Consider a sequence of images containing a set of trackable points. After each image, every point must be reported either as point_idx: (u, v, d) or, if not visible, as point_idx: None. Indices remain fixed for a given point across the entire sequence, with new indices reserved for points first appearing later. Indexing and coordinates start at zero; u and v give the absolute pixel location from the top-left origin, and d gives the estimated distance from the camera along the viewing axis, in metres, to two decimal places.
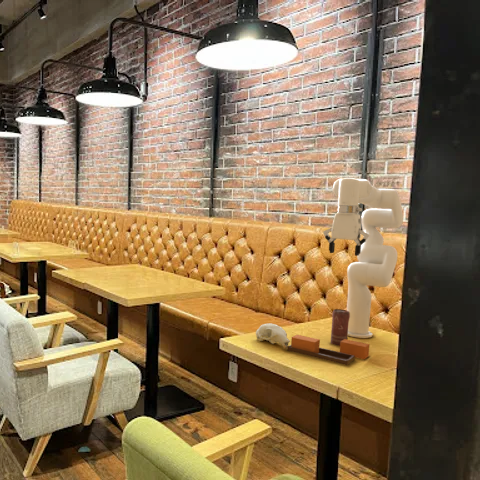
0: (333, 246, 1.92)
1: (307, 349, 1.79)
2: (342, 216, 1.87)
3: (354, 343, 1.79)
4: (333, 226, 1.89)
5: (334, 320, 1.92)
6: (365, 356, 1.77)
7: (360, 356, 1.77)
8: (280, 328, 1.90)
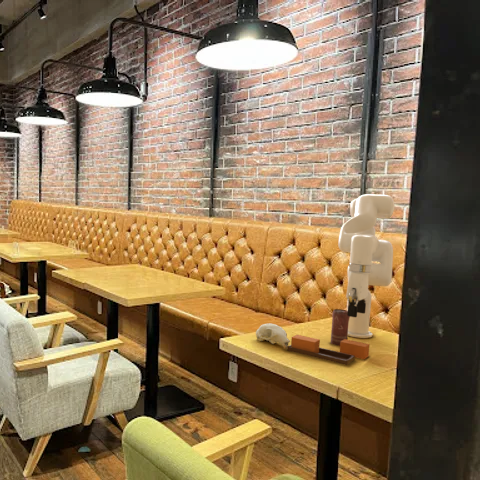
0: None
1: (307, 349, 1.79)
2: (365, 276, 1.76)
3: (354, 343, 1.79)
4: (360, 288, 1.74)
5: (334, 320, 1.92)
6: (365, 356, 1.77)
7: (360, 356, 1.77)
8: (280, 328, 1.90)
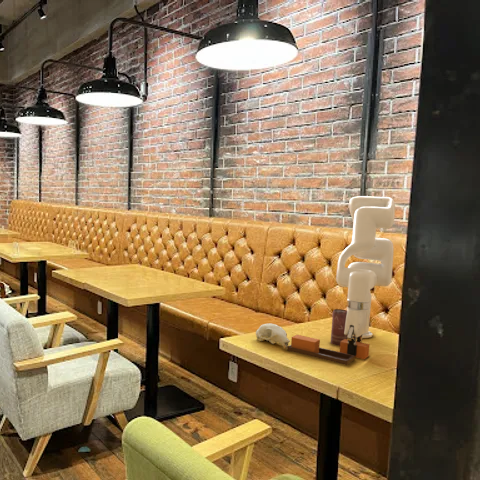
0: None
1: (307, 349, 1.79)
2: (363, 313, 1.77)
3: None
4: (358, 325, 1.75)
5: (334, 320, 1.92)
6: (365, 356, 1.77)
7: (360, 356, 1.77)
8: (280, 328, 1.90)
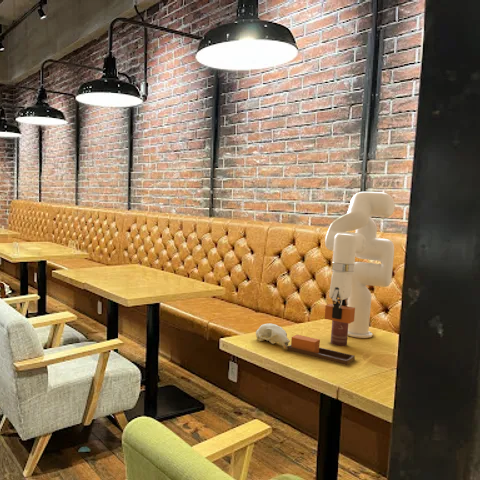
0: None
1: (307, 349, 1.79)
2: (349, 275, 1.73)
3: None
4: (343, 287, 1.71)
5: None
6: (350, 319, 1.72)
7: (345, 319, 1.72)
8: (280, 328, 1.90)
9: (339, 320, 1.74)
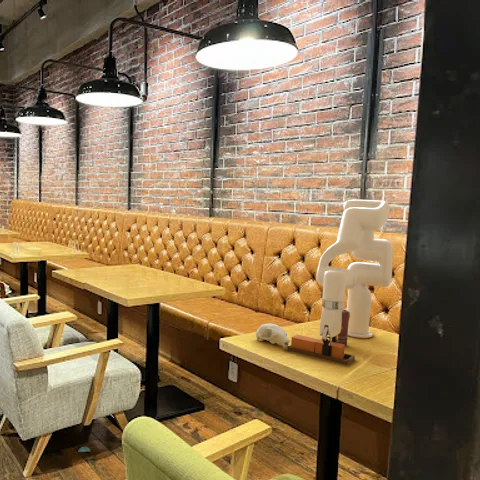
0: None
1: (307, 349, 1.79)
2: (338, 313, 1.73)
3: None
4: (333, 325, 1.71)
5: None
6: (340, 357, 1.73)
7: (335, 357, 1.73)
8: (280, 328, 1.90)
9: None
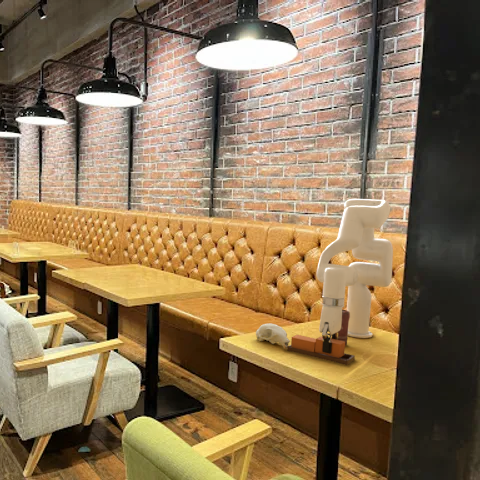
0: None
1: (307, 349, 1.79)
2: (338, 310, 1.73)
3: None
4: (333, 322, 1.71)
5: None
6: (340, 354, 1.73)
7: (335, 354, 1.73)
8: (280, 328, 1.90)
9: (329, 354, 1.74)
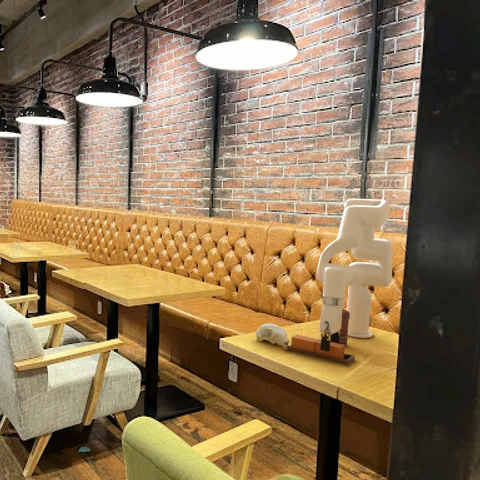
0: None
1: (307, 349, 1.79)
2: (338, 309, 1.73)
3: None
4: (333, 322, 1.71)
5: None
6: (340, 357, 1.73)
7: (335, 357, 1.73)
8: (280, 328, 1.90)
9: None
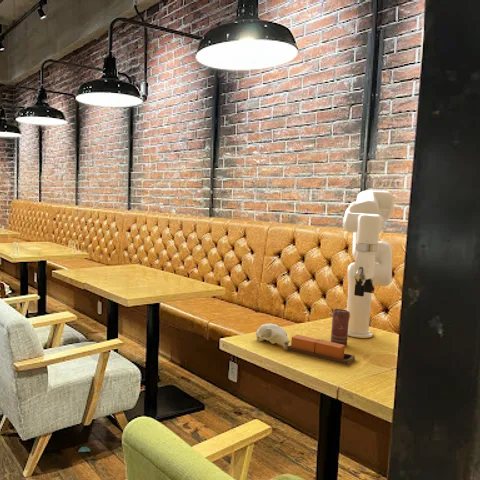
0: None
1: (307, 349, 1.79)
2: (372, 255, 1.76)
3: (329, 344, 1.75)
4: (367, 267, 1.74)
5: (334, 320, 1.92)
6: (340, 357, 1.73)
7: (335, 357, 1.73)
8: (280, 328, 1.90)
9: None
